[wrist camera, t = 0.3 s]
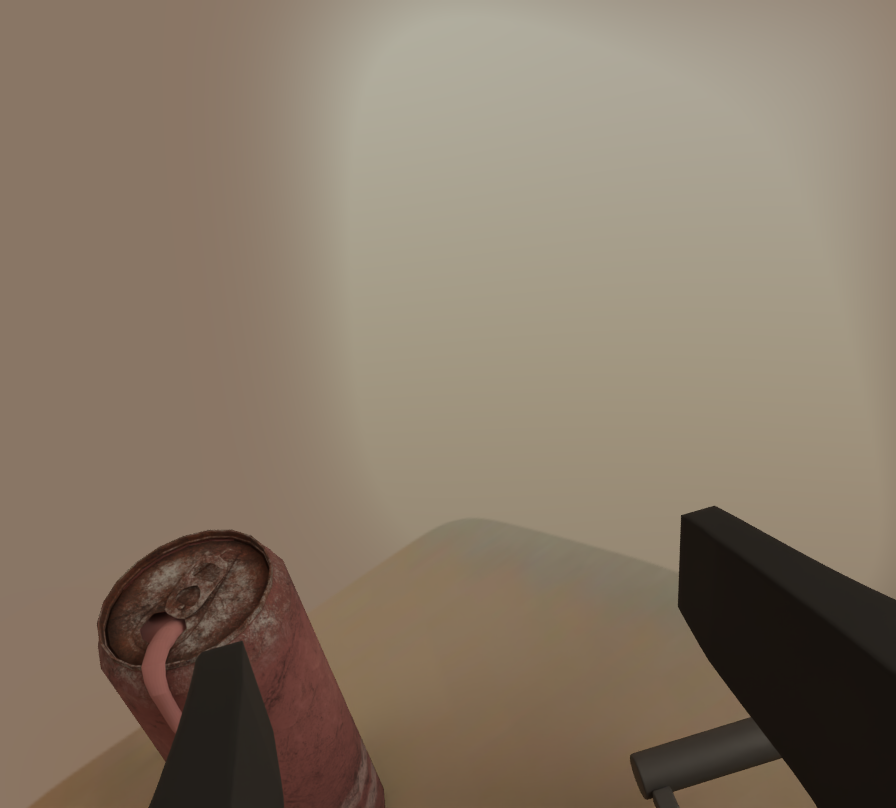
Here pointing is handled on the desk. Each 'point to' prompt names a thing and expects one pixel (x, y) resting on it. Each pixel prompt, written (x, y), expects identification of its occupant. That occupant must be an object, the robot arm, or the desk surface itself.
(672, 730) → the desk surface
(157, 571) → the can
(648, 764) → the drawer
